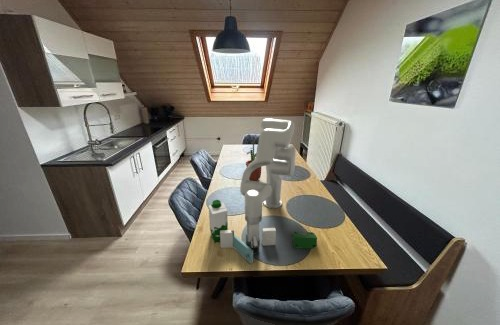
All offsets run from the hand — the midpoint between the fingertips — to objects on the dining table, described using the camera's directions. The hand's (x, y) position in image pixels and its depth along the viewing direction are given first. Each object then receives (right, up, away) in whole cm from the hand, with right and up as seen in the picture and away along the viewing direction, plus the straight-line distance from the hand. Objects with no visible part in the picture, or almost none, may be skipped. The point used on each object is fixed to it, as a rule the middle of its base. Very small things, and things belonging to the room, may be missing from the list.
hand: (253, 244), depth 101 cm
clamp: (+26, -2, +6) cm, 27 cm away
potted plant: (+4, +24, +69) cm, 74 cm away
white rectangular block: (-2, -2, +5) cm, 6 cm away
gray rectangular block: (0, -3, +2) cm, 4 cm away
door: (-5, -4, -2) cm, 7 cm away
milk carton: (-18, 0, +10) cm, 20 cm away
